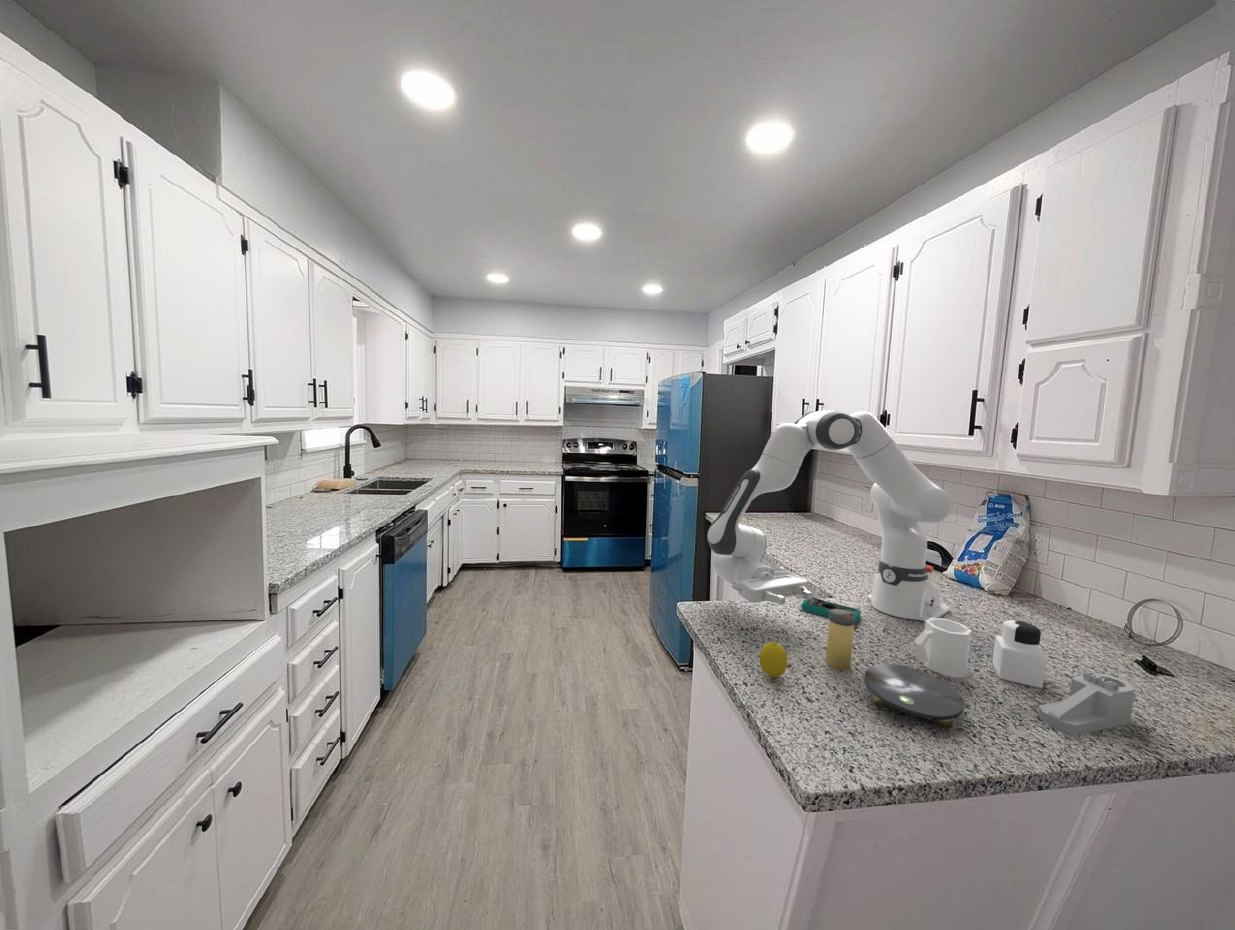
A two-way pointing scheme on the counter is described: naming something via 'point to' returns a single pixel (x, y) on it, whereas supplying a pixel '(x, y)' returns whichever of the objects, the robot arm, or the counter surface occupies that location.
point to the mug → (944, 647)
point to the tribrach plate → (914, 693)
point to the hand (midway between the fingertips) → (797, 598)
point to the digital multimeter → (826, 608)
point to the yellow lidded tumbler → (840, 639)
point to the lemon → (773, 659)
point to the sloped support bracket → (1091, 705)
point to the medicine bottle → (1019, 654)
